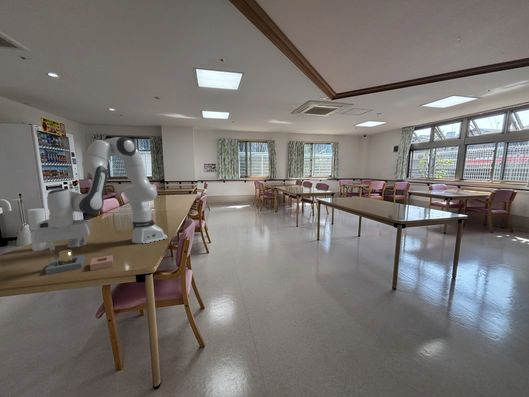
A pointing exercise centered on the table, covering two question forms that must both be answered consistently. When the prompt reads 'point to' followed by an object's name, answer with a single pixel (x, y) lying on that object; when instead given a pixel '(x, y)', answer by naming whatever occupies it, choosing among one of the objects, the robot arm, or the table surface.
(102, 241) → the table surface
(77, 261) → the socket block
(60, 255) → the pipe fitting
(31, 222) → the cylindrical container
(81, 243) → the french press
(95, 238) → the table surface
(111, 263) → the small socket
